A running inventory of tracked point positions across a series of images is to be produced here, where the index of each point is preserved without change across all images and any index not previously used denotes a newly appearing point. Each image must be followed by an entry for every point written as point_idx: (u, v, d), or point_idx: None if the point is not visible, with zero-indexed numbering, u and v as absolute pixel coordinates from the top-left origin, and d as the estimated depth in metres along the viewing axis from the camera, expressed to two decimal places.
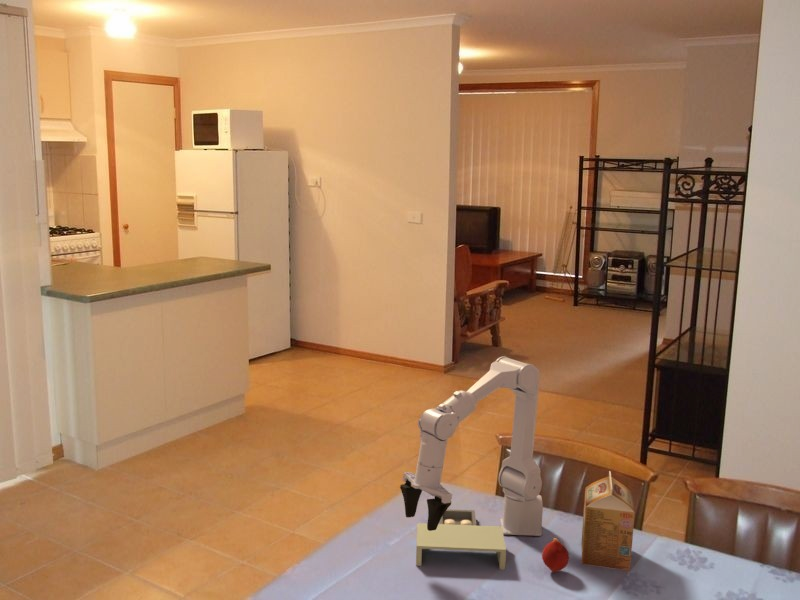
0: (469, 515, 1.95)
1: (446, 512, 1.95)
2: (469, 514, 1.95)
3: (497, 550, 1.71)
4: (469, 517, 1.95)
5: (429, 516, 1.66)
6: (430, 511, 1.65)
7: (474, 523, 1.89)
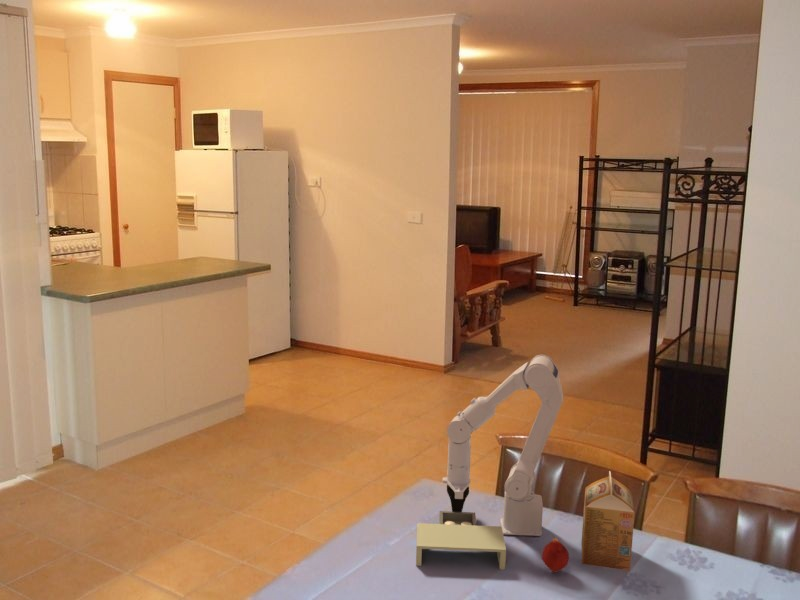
0: (470, 517, 1.94)
1: (446, 514, 1.94)
2: (470, 516, 1.94)
3: (497, 550, 1.71)
4: (470, 519, 1.94)
5: (451, 502, 1.94)
6: (450, 497, 1.94)
7: None
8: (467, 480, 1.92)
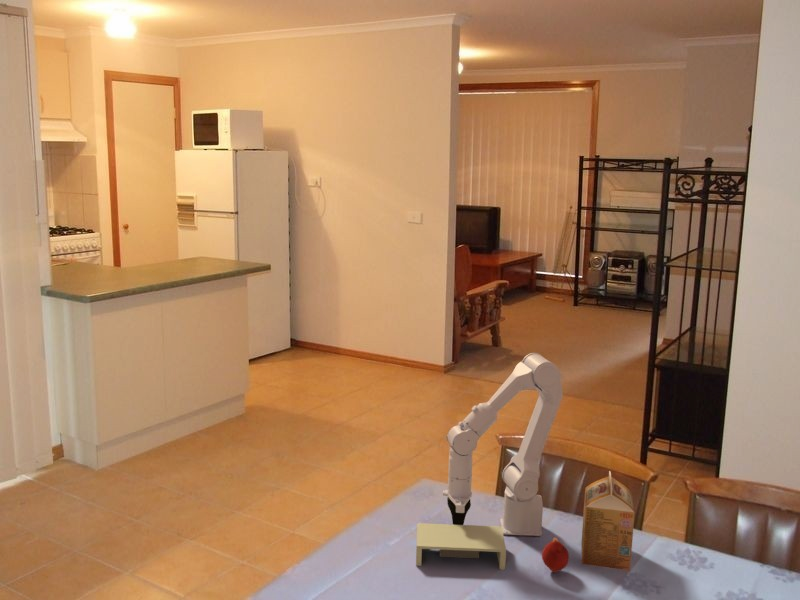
0: None
1: None
2: None
3: (497, 550, 1.71)
4: None
5: None
6: None
7: None
8: (468, 493, 1.84)
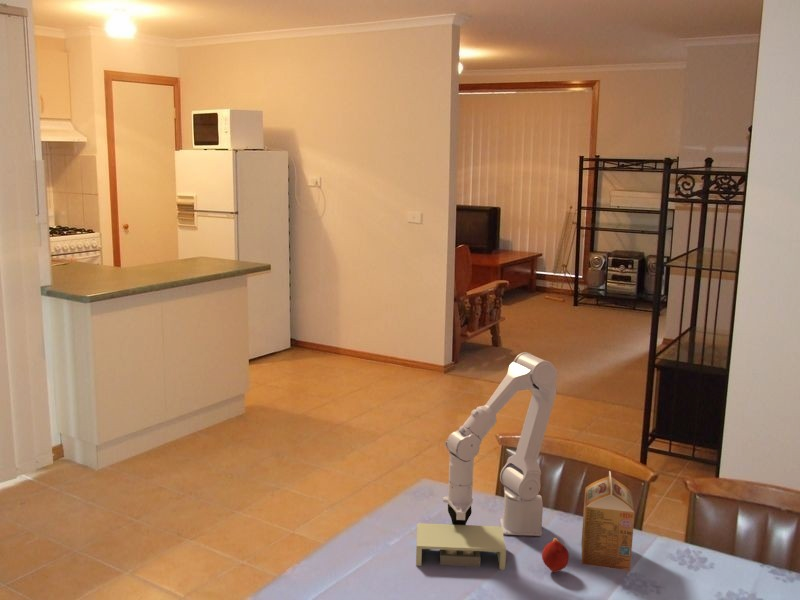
0: None
1: None
2: None
3: (497, 550, 1.71)
4: None
5: (452, 522, 1.83)
6: (451, 518, 1.83)
7: None
8: (469, 499, 1.81)
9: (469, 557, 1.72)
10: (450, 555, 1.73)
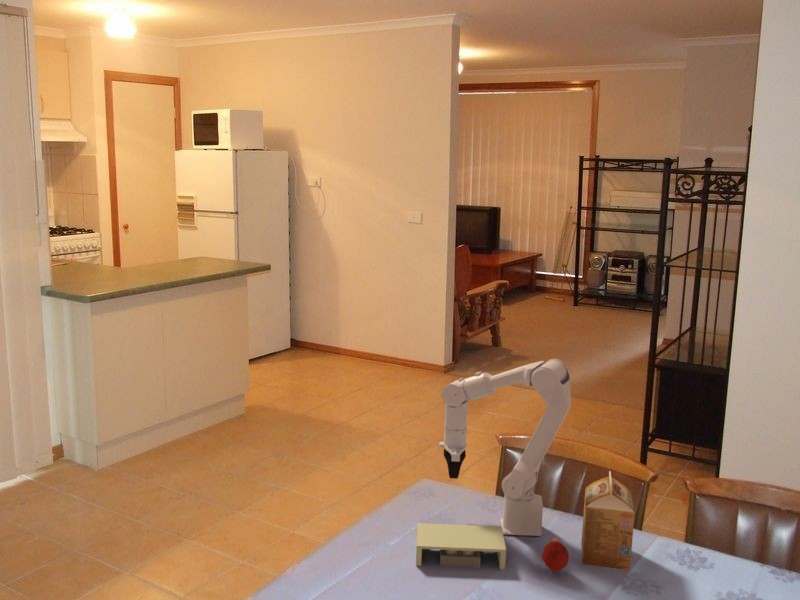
0: None
1: None
2: None
3: (497, 550, 1.71)
4: None
5: None
6: None
7: None
8: (464, 444, 1.94)
9: (469, 558, 1.72)
10: (450, 555, 1.73)
